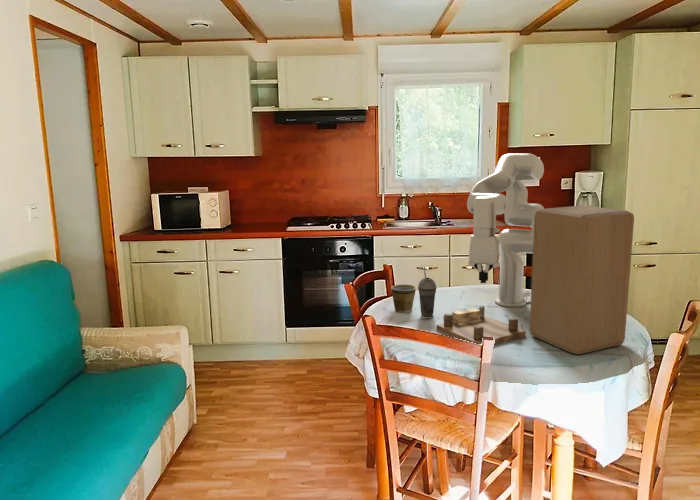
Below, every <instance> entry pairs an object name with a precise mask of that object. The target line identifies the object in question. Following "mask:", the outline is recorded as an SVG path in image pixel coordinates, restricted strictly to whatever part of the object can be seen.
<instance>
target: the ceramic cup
mask: <svg viewBox="0 0 700 500" xmlns="http://www.w3.org/2000/svg"><path fill="white" fill-rule="evenodd" d="M390 289H391V296H392V300H393V304H394V305H393V307H394V311H395V312H396V313H397V314H404V313H406V314H410V313H411V312H412V310H413V307H414V306H413V305H414V300H415V295H416V289H417V287H416V286H415V285H412V284H396V285H392V286H391V288H390Z"/></svg>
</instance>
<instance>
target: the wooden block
mask: <svg viewBox="0 0 700 500" xmlns="http://www.w3.org/2000/svg"><path fill="white" fill-rule="evenodd" d="M634 226H635V216H634V213H632V212H630V211H628V210H624V209H616V208H609V207H598V206H589V205H583V204H582V205H573V206H572V205H570V206H562V207H561V206H559V207H548V208H544V209H541V210H538V211H536V213H535V215H534V239H533V254H532V264H531V267H532V268H531V287H530V288H531V289H530V309H529V311H530V313H529V314H530V315H529V317H530V318H529V333H530V335H531V336H533V337H535V338H537V339H538V340H539V339H540V340H541V341H544V342H546V343H548V344H550V345H553V346H555V347H557V348H560V349H562V350H564V351H567V352H568V353H572V354H573V355H582V354H586V353H590V352H591V353H592V352H596V351H600V350H602V349H607V348H612V347H617V346H620V345H622V344H623V343H624V342H625V340H626V330H627V329H626V328H627V327H626V326H627V314H628V302H629V301H628V300H629V289H630V278H631V277H630V275H631V266H632V265H631V264H632V251H633V241H634V240H633V237H634V228H635V227H634Z"/></svg>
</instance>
